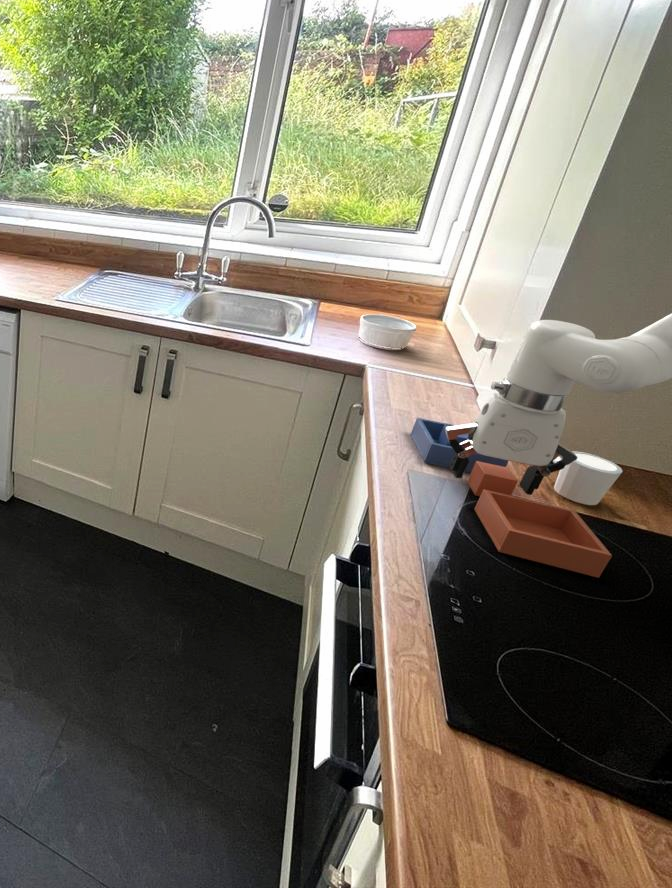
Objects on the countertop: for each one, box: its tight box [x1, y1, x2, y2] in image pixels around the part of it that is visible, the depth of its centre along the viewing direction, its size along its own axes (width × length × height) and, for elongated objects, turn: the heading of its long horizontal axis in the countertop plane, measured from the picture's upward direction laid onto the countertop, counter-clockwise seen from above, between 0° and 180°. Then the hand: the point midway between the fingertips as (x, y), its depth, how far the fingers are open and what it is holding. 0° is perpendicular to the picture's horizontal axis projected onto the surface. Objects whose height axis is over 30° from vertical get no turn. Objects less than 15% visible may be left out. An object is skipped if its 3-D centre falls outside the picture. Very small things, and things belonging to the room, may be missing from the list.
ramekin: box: [358, 313, 417, 351], centre depth 167 cm, size 13×13×7 cm
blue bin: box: [409, 417, 509, 474], centre depth 112 cm, size 11×11×4 cm
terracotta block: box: [466, 461, 519, 497], centre depth 101 cm, size 4×4×4 cm
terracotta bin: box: [473, 490, 613, 579], centre depth 89 cm, size 11×11×4 cm
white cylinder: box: [553, 450, 624, 506], centre depth 101 cm, size 7×7×7 cm
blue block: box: [436, 425, 468, 446], centre depth 112 cm, size 4×4×4 cm
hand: (489, 482), depth 101 cm, fingers open, 9 cm apart
